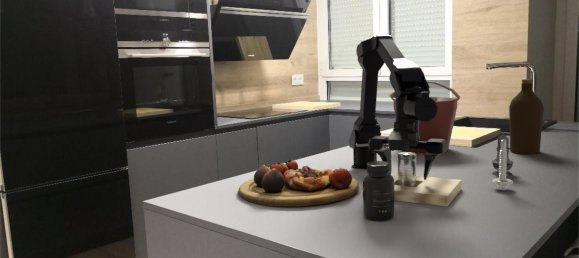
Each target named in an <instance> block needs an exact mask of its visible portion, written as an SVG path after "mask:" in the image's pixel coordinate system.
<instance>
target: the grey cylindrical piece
mask: <svg viewBox="0 0 579 258" xmlns="http://www.w3.org/2000/svg"><path fill="white" fill-rule="evenodd" d="M397 174H398V185H399V186H409V187H416V176H417V153H411V152H403V151H401V152H398V153H397Z"/></svg>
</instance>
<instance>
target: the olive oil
mask: <svg viewBox="0 0 579 258" xmlns="http://www.w3.org/2000/svg"><path fill="white" fill-rule="evenodd" d="M520 88H521V90H520V92H518V93H517V94H516V96H514V97H513V98H512V100H511V101H510V104H509V108H508V112H509V113H508V114H509V148H510V150H509V151H510V152H511V153H514V154H520V155H536V154H539V153H541V141H542V131H543V120H544V119H543V118H544V112H545V111H544V110H545V109H544V108H545V107H544V104H543V103H544V102H543V101H542V99H541V98H540V97H539V96H538V95H537V94H536V93H535V92H534V91H533V79H531V78H523V79H521V87H520Z"/></svg>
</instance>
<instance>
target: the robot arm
mask: <svg viewBox="0 0 579 258" xmlns="http://www.w3.org/2000/svg"><path fill="white" fill-rule="evenodd" d="M355 53H356V56H357V62H358V65H360V68H361V71H362V72H361V74H362V75H361V86H360V87H361V91H360V107H359V115H358V117H357V118H356V120H355V121H354V123H353V127H352V128H353V130H352V131H351V132H350V133H351V134H350V135H349V136H350V137H349V139H348V145H349V148H350V149H352V150H353V151H352V153H353V157H352V158H353V164H352V165H351V168H354V169H355V168H357V169H367V163H368V162H372V161H378V156H379V157H380V159H381V161H385V162H388V163H389V164H390V172H389V174H390V175H392V172H393V171H392V152H394V151H398V152H399V151H401V152H405V151H408V150H409V148H414V149H426V151H427V153H426V154H423V155H424V169H423V177H424V180H426V179H427V177H429V174H430V171H431V168H432V166H433V164H434V161H435V160H436V158H437V157H439V156H440V155H443V154H444V152H445V151H446V152H447V151H448V150H447V141H446V140H445V139H430V140H428V141H427V142H421V141H419V140H420V136H419V124H420V121H423V122H427V121H430V120H432V119H433V118H434V117H435V116H436V113H437V105H436V103H435V101H434V100H433V99H432V98H430V97H431V96H430V93H431V91H430V87H431V86H430V84H429V83H428V82H427V81H428V80H427V78H426V76H425V73H424V71H423V70H422V67H420V66H419V65H418V64H417V63H416V62H414V61H411V60H408V59H407V58H406V57H405V56H404V54H403V52H401V50H400V48H399V47H398V46H397V44H396V43H395V42H394V38H393V36H392V35H389V34H375V35H373V36H371V37H370V38H368V39H365V40H361V41H360V43H358V44H357V45H356V52H355ZM384 65H385V66H386V67H387V69H388V71H389V73H390V74H389V77H388V79H389V80H388V81H389V83H390V86H391V87H392V89H393V90H394V91H393V92H395V93H394V95H393V98H394V99H395V112H394V115H395V120H394V122H393V128H392V131H391V132H390V134H389V135H386V136H385V135H382V132H381V125H380V124H379V121H378V120H377V118H376V111H377V98H378V96H377V95H378V86H379V85H378V82H379V73H380V70H381V69H382V67H383V66H384ZM446 152H445V153H446ZM377 155H378V156H377Z"/></svg>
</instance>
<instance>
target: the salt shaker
mask: <svg viewBox="0 0 579 258" xmlns="http://www.w3.org/2000/svg"><path fill="white" fill-rule="evenodd" d="M503 139H505V140H506V149H507V150H506V151H507V155H506V156H507V157H506V158H507V159H506V160H507V162H506V163H507V164H506V165H507V166H506V167H507V168H506V170H507V171H506V172H507V173H506V174H507V175H506V177H510V176H513V173H512V172H511V171H510V170H511V169H513V164H514V163H515V162H514V160H511V159H510V157H509V156H510V155H509V154H510V153H509V151H510V137H508V136H507V135H505V133H504V132H502V134H501V136H498V137H497V147H496V148H495V149H496V150H497V151H496V158H495V159H493V160H491V164H492V167H493V168H494V169H495V171H493V172H492V173H491V174H492V175H494V176H497V175H498V177H499V171H500V169H499V168H500V167H499V166H500V165H499V164H500V160H499V159H500V158H499V157H500V149H501V140H503Z"/></svg>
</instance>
